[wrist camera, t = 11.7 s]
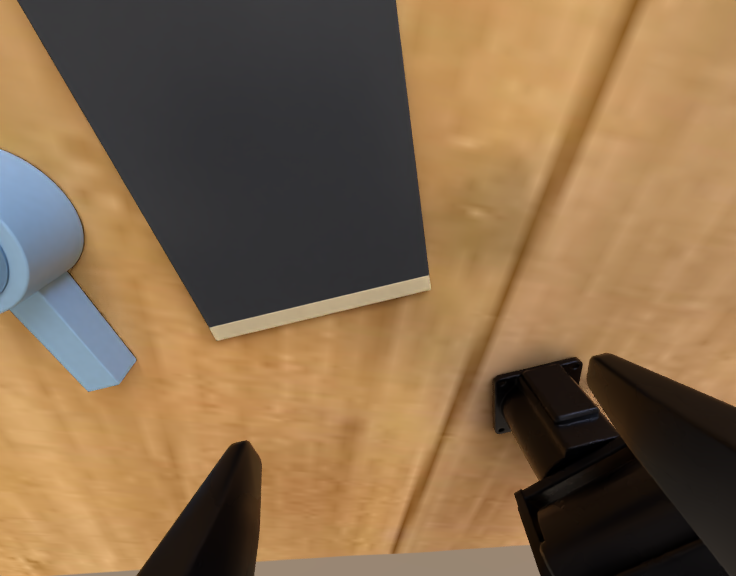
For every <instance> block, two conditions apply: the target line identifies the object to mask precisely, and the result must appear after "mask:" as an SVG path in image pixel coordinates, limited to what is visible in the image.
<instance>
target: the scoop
mask: <svg viewBox="0 0 736 576" xmlns="http://www.w3.org/2000/svg"><path fill="white" fill-rule="evenodd" d="M83 244H84V235H83V229H82V225H81V222H80V219H79V216H78V214H77V212H76V210H75V208H74V207H73V205H72V204H71V202H70V201H69V199H68V198H67V197H66V195H65V194H64V193H63V192H62V190H61V189H60V188H59V187H58V186H57V185H56V184H55V183H54V182H53V181H52V180H50V179H49V178H48V177H47V176H46V175H45V174H43V173H42V172H41V171H39V170H38V169H37V168H35V167H34V166H32V165H31V164H29V163H28V162H26V161H24V160H23V159H21V158H19V157H17V156H15V155H13V154H11V153H8V152H6V151H3V150H1V149H0V314H1V313H3V312H5V311H8V310H10V311H11V312H12V313H13V314H14V315H15V316H16V317H17V318H18V319H19V320H20V321H21V322H22V323H23V324H24V326H25V327H26V328H27V329H28V330H29V331H30V332H31V333H32V334H33V335H34V336H35V337H36V338H37V339H38V340H39V341H40V342H41V343H42V344H43V345H44V346H45V347H46V348H47V349H48V350H49V352H50V353H51V354H52V355H53V356H54V357H55V358H56V359H57V360H58V361H59V362H60V363H61V364H62V365H63V366H64V367H65V368H66V369H67V370H68V371H69V372H70V373H71V374H72V375H73V376H74V378H75V379H76V380H77V381H78V382H79V383H80V384H81V385H82V386H83V387H84V388H85V389H86V390H87V391H88V392H90V391H94V390H98V389H102V388H107V387H111V386H115V385H119V384H120V383H121V381H122V380H123V379H124V377H125V376H126V374H127V373H128V372H129V370H130V369H131V367H132V366H133V365H134V363H135V362H136V358H135V357H134V356H133V354H132V353H131V352H130V351H129V349H128V348H127V347H126V346H125V344H124V343H123V342H122V340H121V339H120V338H119V337H118V335H117V334H116V333H115V332H114V330H113V329H112V328H111V326H110V325H109V324H108V323H107V321H106V320H105V319H104V318H103V316H102V315H101V314H100V312H99V311H98V310H97V309H96V307H95V306H94V305H93V304H92V302H91V301H90V300H89V299H88V297H87V296H86V295H85V293H84V292H83V291H82V290H81V288H80V287H79V286H78V285H77V283H76V282H75V281H74V279H73V278H72V277H71V276H70V274H69V273H68V272H67V271H68V270H69V269H71V268H72V267H73V266H74V265H75V264H76V262H77V261H78V259H79V258H80V255H81V253H82V249H83Z"/></svg>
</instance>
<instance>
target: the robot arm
mask: <svg viewBox="0 0 736 576" xmlns="http://www.w3.org/2000/svg"><path fill="white" fill-rule="evenodd" d="M582 365H583V364H582V362H581V361H580V360H579V359H578V358H576V357H574V358H569V359H565V360H561V361H557V362H552V363H548V364H544V365H540V366H536V367H531V368H527V369H523V370H519V371H515V372H510V373H506V374H502V375H498V376H496V377H495V378H494V379H493V428H494V430H495V432H496V433H497V434H502V433H506V432H510V431H511V432H512V434H513V436H514V437H515V439H516V441H517V443H518V444H519V446H520V448H521V450H522V452H523V453H524V455H525V457H526V459H527V461H528V462H529V464H530V466H531V468H532V469H533V471H534V473H535V475H536V477H537V478H538V480H539V481H538V482H536V483H535V484H533V485H531V486H529V487H528V488H526V489H524V490H522V489H520V490H519V491H517V492H515V493H514V495H515V498H516V501H517V504H518V511H519V514H520V517H521V519H522V522H523V525H524V528H525V531H526V534H527V537H528V540H529V543H530V546H531V549H532V552H533V555H534V558H535V561H536V564H537V567H538V570H539V572H540V575H541V576H736V407H734V406H732V405H730V404H727V403H725V402H723V401H720V400H718V399H716V398H713V397H711V396H709V395H706V394H704V393H702V392H699V391H697V390H695V389H692V388H690V387H688V386H685V385H683V384H681V383H678V382H676V381H674V380H671V379H669V378H667V377H664V376H662V375H660V374H657V373H655V372H653V371H650V370H648V369H646V368H643V367H641V366H639V365H636V364H634V363H632V362H629V361H627V360H625V359H622V358H620V357H618V356H615V355H613V354H610V353H604V354H600V355H596V356H593V357H591V359H590V361H589V367H588V373H587V384H588V386H589V388H590V390H591V391H592V393H593V394H594V396H595V398H596V399H597V401H598V402H599V404H600V405H601V407H602V408H603V410H604V411H605V413H606V415H607V416H608V418H609V419H610V421H611V422H612V424H613V425H614V427H615V428H616V429H615V428H614V427H613V425H612V424H611V423H610V422H609V421H608V420H607V419H606V417H605V416H604V415H603V414H602V413H601V412H600V410H599V408H598V407H597V406H596V404H595V403H594V402H593V401H592V400H591V399H590V398H589V396H588V395H587V394H586V393H585V392H584V391H583V390H582V389H581V387H580V386H579V381H580V376H581V370H582ZM261 476H262V463H261V459H260V457H259V455H258V454H257V452H256V451H255V449H254V448H253V446H252V445H251V443H250V442H249V441H247V440H245V441H241V442H237V443H233V444H232V445H230V446H229V448H228V449H227V450H226V452H225V453H224V454H223V456H222V457H221V459H220V460H219V461H218V463H217V464H216V466H215V467H214V468H213V470H212V471H211V473H210V474H209V475H208V477H207V478H206V480H205V481H204V482H203V484H202V485H201V486H200V488H199V489H198V491H197V492H196V493H195V495H194V496H193V498H192V499H191V500H190V502H189V503H188V505H187V506H186V507H185V509H184V510H183V512H182V513H181V514H180V516H179V517H178V519H177V520H176V521H175V523H174V524H173V525H172V527H171V528H170V530H169V531H168V532H167V534H166V535H165V537H164V538H163V539H162V541H161V542H160V544H159V545H158V546H157V548H156V549H155V551H154V552H153V553H152V555H151V556H150V558H149V559H148V560H147V562H146V563H145V565H144V566H143V567H142V569H141V570H140V572H139V573H138V574H137V576H254V572H255V564H256V556H257V549H258V540H259V531H260V508H261Z"/></svg>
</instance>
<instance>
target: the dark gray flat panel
mask: <svg viewBox="0 0 736 576" xmlns="http://www.w3.org/2000/svg"><path fill="white" fill-rule="evenodd" d="M17 1H18V3H19V4H20V6H21V8H22V9H23V11H24V13H25V14H26V16H27V18H28V20H29V21H30V23H31V25H32V26H33V28H34V30H35V31H36V33H37V35H38V37H39V38H40V40H41V42H42V43H43V45H44V47H45V49H46V50H47V52H48V54H49V55H50V57H51V59H52V60H53V62H54V64H55V66H56V67H57V69H58V71H59V72H60V74H61V76H62V77H63V79H64V81H65V83H66V84H67V86H68V88H69V89H70V91H71V93H72V95H73V96H74V98H75V100H76V101H77V103H78V105H79V106H80V108H81V110H82V112H83V113H84V115H85V117H86V118H87V120H88V122H89V123H90V125H91V127H92V129H93V130H94V132H95V134H96V135H97V137H98V139H99V141H100V142H101V144H102V146H103V147H104V149H105V151H106V152H107V154H108V156H109V158H110V159H111V161H112V163H113V164H114V166H115V168H116V169H117V171H118V173H119V175H120V176H121V178H122V180H123V181H124V183H125V185H126V187H127V188H128V190H129V192H130V193H131V195H132V197H133V198H134V200H135V202H136V204H137V205H138V207H139V209H140V210H141V212H142V214H143V216H144V217H145V219H146V221H147V222H148V224H149V226H150V227H151V229H152V231H153V233H154V234H155V236H156V238H157V239H158V241H159V243H160V244H161V246H162V248H163V250H164V251H165V253H166V255H167V256H168V258H169V260H170V262H171V263H172V265H173V267H174V268H175V270H176V272H177V273H178V275H179V277H180V279H181V280H182V282H183V284H184V285H185V287H186V289H187V290H188V292H189V294H190V296H191V297H192V299H193V301H194V302H195V304H196V306H197V308H198V309H199V311H200V313H201V314H202V316H203V318H204V319H205V321H206V323H207V325H208V326H209V329H210V330H211V332H212V334H213V335H214V337H215V339H216V341H218V340H223V339H227V338H231V337H235V336H239V335H244V334H248V333H252V332H256V331H260V330H264V329H269V328H273V327H277V326H281V325H285V324H290V323H294V322H298V321H302V320H306V319H311V318H315V317H319V316H323V315H327V314H331V313H336V312H340V311H344V310H348V309H352V308H357V307H361V306H365V305H369V304H373V303H377V302H382V301H386V300H390V299H394V298H398V297H403V296H407V295H411V294H415V293H419V292H424V291H428V290H431V285H430V277H429V269H428V261H427V253H426V245H425V237H424V229H423V220H422V212H421V204H420V196H419V188H418V180H417V171H416V163H415V155H414V147H413V139H412V130H411V122H410V114H409V106H408V98H407V90H406V81H405V73H404V65H403V57H402V49H401V41H400V32H399V24H398V16H397V8H396V0H17Z"/></svg>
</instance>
